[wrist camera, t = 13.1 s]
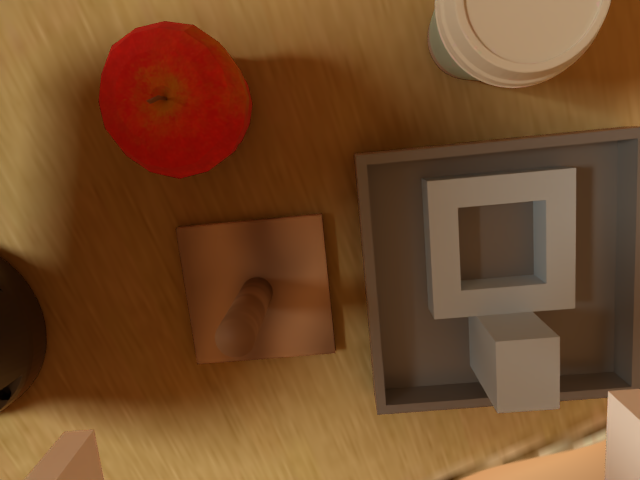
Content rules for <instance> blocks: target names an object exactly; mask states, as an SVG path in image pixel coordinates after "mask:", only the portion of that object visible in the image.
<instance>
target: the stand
mask: <svg viewBox="0 0 640 480" xmlns="http://www.w3.org/2000/svg"><path fill="white" fill-rule="evenodd" d="M176 234H177V240H178V246H179V252H180V259H181V265H182V271H183V277H184V284H185V290H186V296H187V302H188V309H189V315H190V321H191V327H192V333H193V340H194V346H195V352H196V358H197V364H206V363H218V362H231V361H243V360H256V359H268V358H280V357H293V356H305V355H318V354H330V353H335V341H334V331H333V321H332V311H331V301H330V291H329V281H328V271H327V261H326V251H325V241H324V231H323V221H322V213H320V214H309V215H299V216H288V217H278V218H267V219H256V220H246V221H235V222H225V223H214V224H203V225H193V226H182V227H178V228H176Z"/></svg>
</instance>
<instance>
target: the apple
mask: <svg viewBox="0 0 640 480" xmlns="http://www.w3.org/2000/svg"><path fill="white" fill-rule="evenodd" d="M99 106H100V110H101V114H102V118H103V122H104V126H105V129H106V130H107V131H108V133H109V134H110V135H111V137H112V138H113V139H114V140H115V142H116V143H117V144H118V146H119V147H120V148H121V150H122V151H123V152H124V153H125V155H126V156H128V157H129V158H130V159H132V160H133V161H135V162H136V163H138V164H139V165H141V166H142V167H144V168H145V169H147V170H148V171H150V172H152V173H157V174H161V175H166V176H170V177H174V178H179V179H181V178H184V177H188V176H192V175H196V174H200V173H203V172H207V171H209V170H210V169H212V168H213V167H215V166H216V165H217V164H219V163H220V162H221V161H223V160H224V159H225V158H227V157H228V156H229V155H231V154H232V153H233V152H235V151H236V149H237V146H238V144H239V143H241V142H242V140H243V138H244V135H245V133H246V131H247V129H248V126H249V124H250V118H251V111H252V100H251V96H250V91H249V87H248V84H247V82H246V81H245V79H244V77H243V75H242V72H241V70H240V69H239V67H238V66H237V65H236V63H235V62H234V61H233V59H232V58H231V57H230V55H229V54H228V52H227V51H226V50H225V48H224V47H223V46H222V45H221V44H220V43H219V42H218V41H216V40H215V39H213V38H212V37H210V36H209V35H208V34H206V33H205V32H203V31H202V30H200V29H199V28H197V27H196V26H194V25H190V24H182V23H175V22H167V21H164V22H159V23H155V24H151V25H147V26H142V27H138V28H135V29H134V30H133V31H131V32H130V33H129V34H127V35H126V36H125V37H123V38H122V39H120V40H119V41H118V42H116V43H115V44H114V45H112V47H111V49H110V52H109V55H108V58H107V60H106V63H105V66H104V68H103V71H102V74H101V83H100V92H99Z"/></svg>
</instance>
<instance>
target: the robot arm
mask: <svg viewBox="0 0 640 480" xmlns="http://www.w3.org/2000/svg"><path fill="white" fill-rule="evenodd" d="M45 350H46V329H45V323H44V318H43V314H42V311H41V308H40V306H39V304H38V301H37V299H36V297H35V295H34V293H33V292H32V290H31V288H30V287H29V286H28V284H27V283H26V281H25V280H24V279H23V278H22V276H21V275H20V274H19V273H18V272H17V271H16V270H15V269H14V268H13V267H12V266H11V265H10V264H8V263H7V262H6V261H5V260H4V259H2V258H1V257H0V412H1V411H2V410H4V409H5V408H6V407H8V406H9V405H10V404H11V403H12V402H14V401H15V400H16V399H17V398H18V397H20V396H21V395H22V394H23V393H24V392H25V391H26V390H27V389H28V388H29V387H30V385H31V384H32V383H33V381H34V380H35V378H36V377H37V375H38V373H39V371H40V368H41V366H42V363H43V360H44V356H45ZM24 480H104V478H103V473H102V468H101V463H100V458H99V452H98V447H97V442H96V437H95V432H94V430H81V431H67V432H64V433H63V434H62V435H61V437H60V438H59V439H58V440H57V441H56V442H55V444H54V445H53V446H52V447H51V448H50V450H49V451H48V452H47V453H46V454H45V456H44V457H43V458H42V459H41V460H40V461H39V463H38V464H37V465H36V466H35V467H34V469H33V470H32V471H31V472H30V473H29V474H28V476H27V477H26V478H25V479H24ZM605 480H640V389H629V390H615V391H608V407H607V433H606V459H605Z"/></svg>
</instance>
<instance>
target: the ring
mask: <svg viewBox="0 0 640 480" xmlns="http://www.w3.org/2000/svg"><path fill="white" fill-rule="evenodd" d="M421 181H422V199H423V217H424V236H425V254H426V272H427V291H428V308H429V310H430V312H431V314H432V316H433V318H434V319H446V318H459V317H468V323H469V350H470V366H471V368H472V370H473V371H474V373H475V375H476V377H477V378H478V380H479V382H480V384H481V385H482V387H483V389H484V391H485V392H486V394H487V396H488V398H489V399H490V401H491V403H492V405H493V406H494V408H495V410H496V412H497V413H509V412H523V411H538V410H552V409H560V337H559V336H558V335H557V334H556V333H555V332H554V331H553V330H552V329H551V328H550V327H549V326H548V325H546V324H545V323H544V322H543V321H542V320H541V319H540V318H539V317H538V316H537V315H536V314H534V313H533V312H535V311H548V310H561V309H573V308H575V267H576V168H574V167H567V166H550V167H539V168H528V169H517V170H506V171H495V172H485V173H474V174H463V175H452V176H441V177H430V178H421ZM528 201H533V242H534V275H522V276H510V277H498V278H486V279H474V280H462V281H461V275H460V251H459V226H458V208H461V207H472V206H483V205H495V204H506V203H517V202H528Z"/></svg>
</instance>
